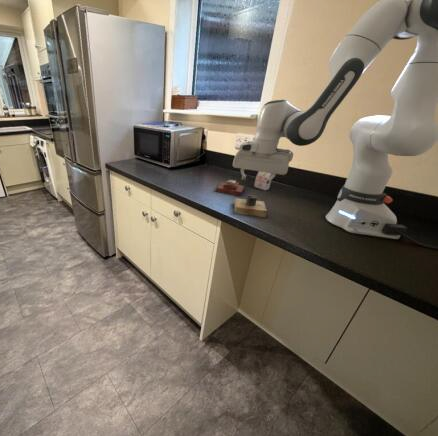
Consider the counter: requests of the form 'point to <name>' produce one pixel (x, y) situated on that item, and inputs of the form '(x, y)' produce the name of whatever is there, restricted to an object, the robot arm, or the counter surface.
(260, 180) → the small white box
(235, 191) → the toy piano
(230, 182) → the key
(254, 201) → the volume dial
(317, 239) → the counter surface
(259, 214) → the volume panel
